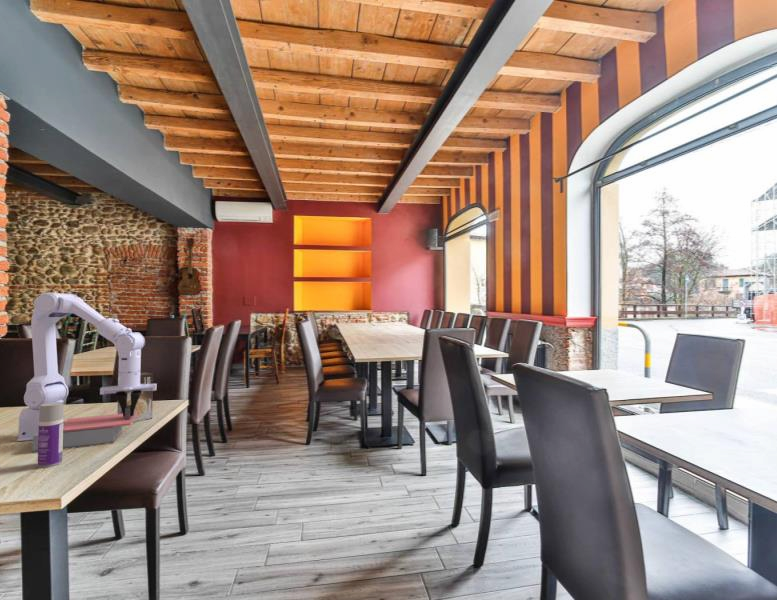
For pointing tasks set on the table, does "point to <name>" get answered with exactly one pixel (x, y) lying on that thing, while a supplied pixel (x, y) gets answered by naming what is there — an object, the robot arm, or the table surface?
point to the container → (50, 434)
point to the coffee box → (142, 400)
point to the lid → (99, 421)
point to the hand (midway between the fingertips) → (128, 415)
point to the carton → (85, 437)
